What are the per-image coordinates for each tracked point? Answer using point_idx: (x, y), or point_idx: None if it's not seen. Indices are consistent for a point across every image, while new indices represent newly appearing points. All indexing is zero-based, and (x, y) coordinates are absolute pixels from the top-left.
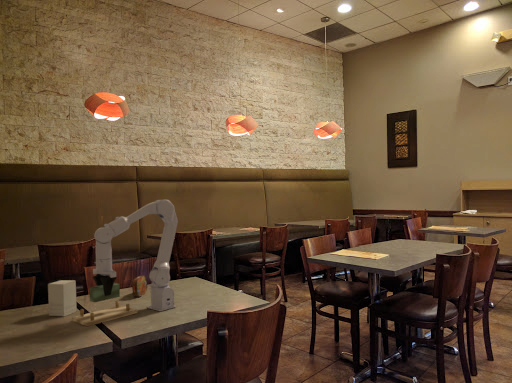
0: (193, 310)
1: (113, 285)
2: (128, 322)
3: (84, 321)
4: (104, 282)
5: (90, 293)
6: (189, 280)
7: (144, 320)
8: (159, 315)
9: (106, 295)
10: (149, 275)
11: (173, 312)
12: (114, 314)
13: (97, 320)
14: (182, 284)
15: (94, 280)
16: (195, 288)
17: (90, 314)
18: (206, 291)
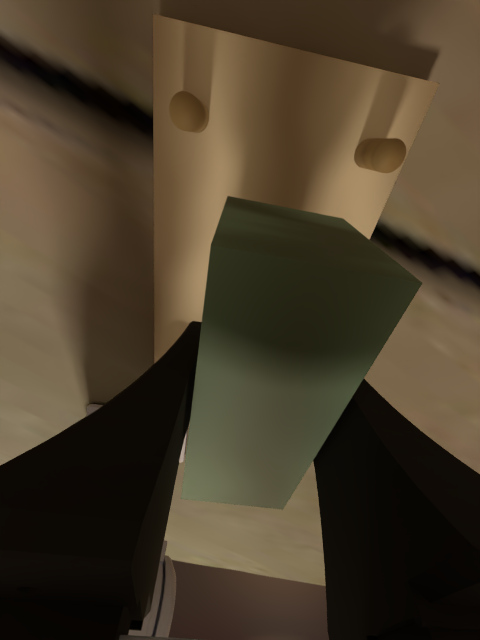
0: (11, 442)
1: (185, 461)
2: (28, 247)
3: (218, 42)
4: (58, 434)
5: (346, 240)
6: (321, 575)
7: (5, 304)
8: (39, 373)
9: (187, 327)
10: (161, 613)
11: (40, 411)
12: (180, 282)
13: (153, 133)
14: (311, 559)
15: (478, 478)
16: (240, 548)
17: (190, 93)
18: (184, 540)
